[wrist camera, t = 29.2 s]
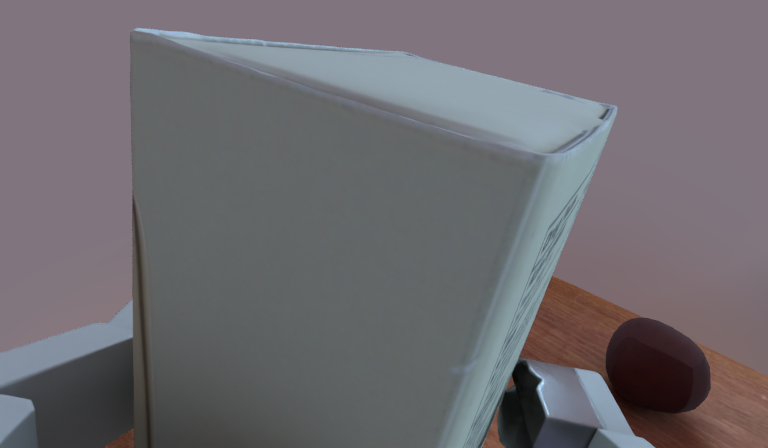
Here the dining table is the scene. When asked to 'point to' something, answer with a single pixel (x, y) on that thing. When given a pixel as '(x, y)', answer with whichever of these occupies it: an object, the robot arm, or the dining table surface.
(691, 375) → the potato
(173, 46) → the cosmetic box
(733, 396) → the dining table surface
